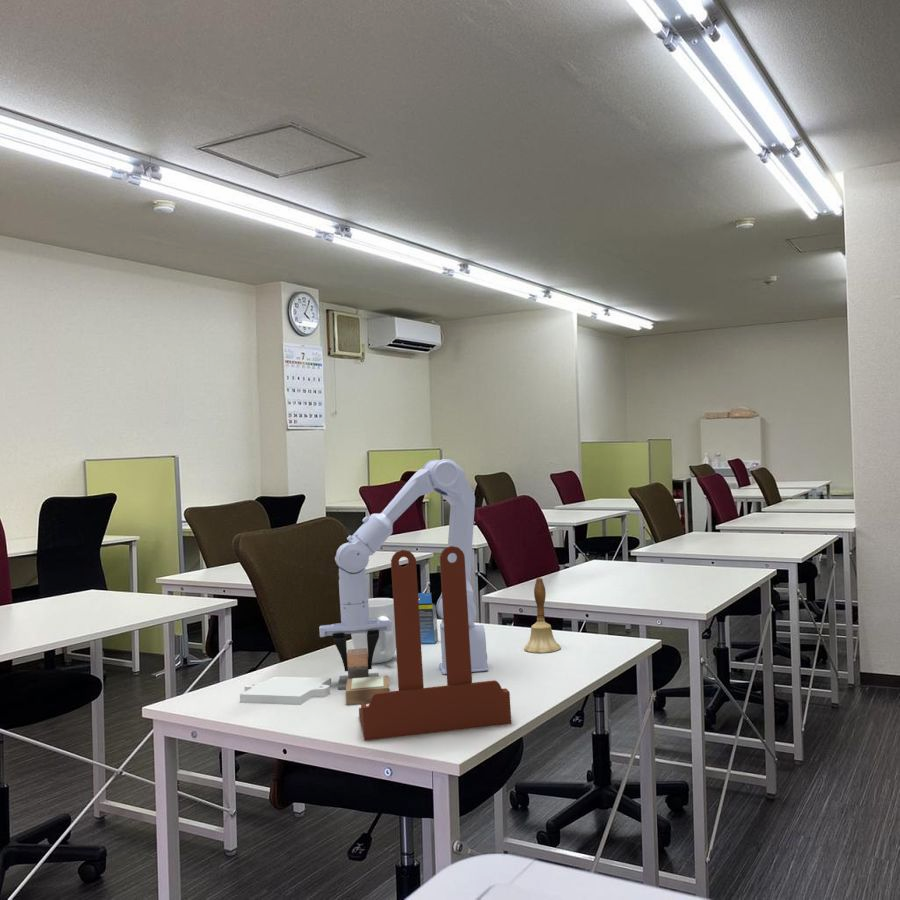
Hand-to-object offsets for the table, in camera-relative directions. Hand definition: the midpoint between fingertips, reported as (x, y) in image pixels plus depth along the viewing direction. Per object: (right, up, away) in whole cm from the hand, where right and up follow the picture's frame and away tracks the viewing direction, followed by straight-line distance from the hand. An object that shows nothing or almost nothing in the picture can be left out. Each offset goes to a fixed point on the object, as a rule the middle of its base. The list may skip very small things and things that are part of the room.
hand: (358, 669), depth 172 cm
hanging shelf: (+16, -2, -28) cm, 32 cm away
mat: (0, -3, 0) cm, 3 cm away
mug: (+3, -3, +17) cm, 18 cm away
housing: (0, -1, 0) cm, 1 cm away
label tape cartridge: (+11, -3, +34) cm, 36 cm away
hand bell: (+39, -1, +20) cm, 44 cm away
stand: (+3, -2, -11) cm, 11 cm away
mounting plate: (-13, -4, -5) cm, 15 cm away
